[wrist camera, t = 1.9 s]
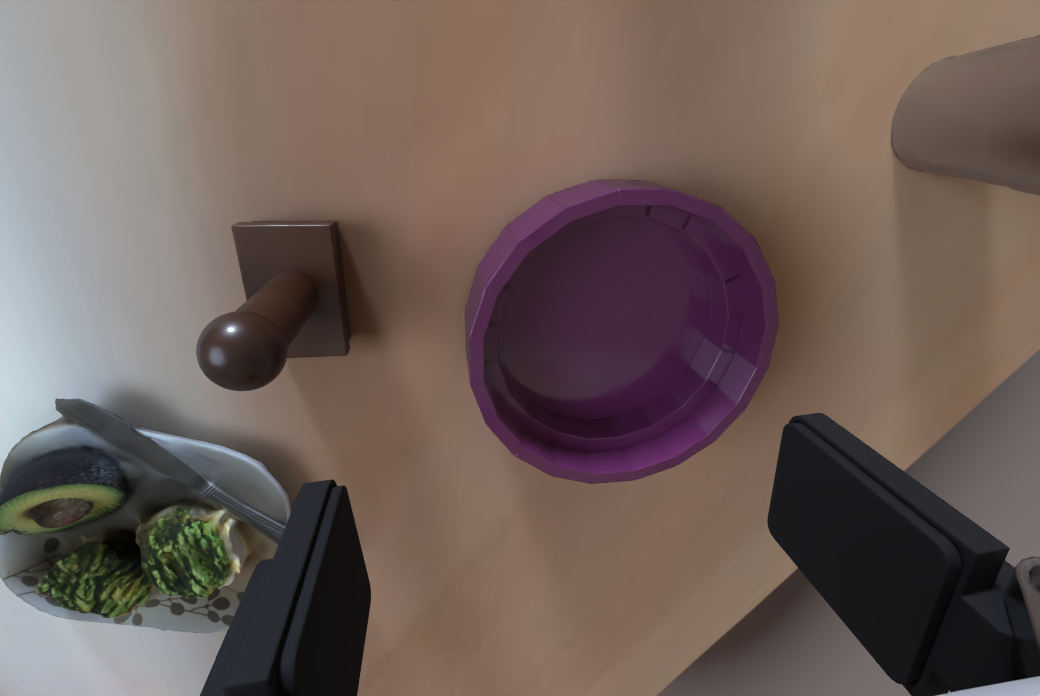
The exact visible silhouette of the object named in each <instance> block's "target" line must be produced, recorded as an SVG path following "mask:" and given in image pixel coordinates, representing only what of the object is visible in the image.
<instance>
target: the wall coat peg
mask: <svg viewBox="0 0 1040 696" xmlns="http://www.w3.org/2000/svg"><path fill="white" fill-rule="evenodd" d="M232 232H233V237H234V242H235V246H236V251H237V256H238V261H239V266H240V270H241V275H242V280H243V285H244V290H245V294H246V299H247V301H246V302H245V303H244V304H243V305H242V306H241V307H239V308H238V309H237V310H236V311H235V312H231V313H227V314H224V315H221V316H219V317H217V318H216V319H214V320H213V321H211V322H210V323H209V324H208V325H207V326H206V327H205V328H204V330H203V331H202V333H201V335H200V337H199V339H198V342H197V348H196V355H197V360H198V363H199V366H200V368H201V370H202V371H203V373H204V374H205V375H206V376H207V377H208V378H209V379H210V380H211V381H212V382H214V383H215V384H217V385H219V386H221V387H223V388H226V389H229V390H234V391H250V390H255V389H258V388H261V387H263V386H265V385H267V384H268V383H270V382H271V381H273V380H274V379H275V378H276V377H277V376H278V375H279V374H280V372H281V371H282V369H283V367H284V365H285V363H286V359H287V358H299V357H322V356H346V355H347V354H348V352H349V350H350V345H349V340H350V337H351V332H350V324H349V316H348V308H347V300H346V292H345V284H344V276H343V268H342V260H341V252H340V244H339V236H338V228H337V222H336V221H252V222H239V223H236V224H234V225H232Z"/></svg>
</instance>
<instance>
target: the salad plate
mask: <svg viewBox="0 0 1040 696" xmlns="http://www.w3.org/2000/svg"><path fill="white" fill-rule="evenodd" d="M55 403H56V410H57V411H58V412H60V413H61V414H62V415H63V416H62V417H61V418H60V419H58V420H57V421H55V422H53V423H50V424H48V425H46V426H44V427H42V428H40V429H38V430H36V431H33V432H31V433H29V434H28V435H27V436H25V437H24V438H22V439H21V441H20V442H19V443H17V444H16V445H15V446H14V447H13V448H12V449H11V451H10V453H9V454H8V457H7V458H6V460H5V462H4V464H3V468H2V472H1V475H0V577H1V579H2V580H3V581H4V583H5V584H6V586H7V587H8V588H9V589H10V590H11V591H12V592H13V593H14V594H16V595H17V596H18V597H19V598H21V599H22V600H24V601H25V602H27V603H29V604H30V605H32V606H34V607H36V608H37V609H38V610H40V611H43V612H46V613H48V614H51V615H53V616H57V617H61V618H66V619H72V620H79V621H89V622H100V623H112V624H122V625H133V626H140V627H141V626H142V627H152V628H156V629H157V628H158V629H161V630H173V631H181V632H193V633H212V632H217V631H221V630H225V629H228V628H229V626H230V624H231V622H232V619H233V617H234V615H235V612H236V610H237V608H238V605H239V603H240V601H241V598H242V596H243V594H244V591H245V589H246V587H247V584H248V582H249V580H250V577H251V575H252V573H253V570H254V569H255V567H256V565H257V564H258V563H259V562H260V561H261V560H266V559H272V558H273V557H274V554H275V552H276V549H277V547H278V544H279V542H280V539H281V537H282V534H283V532H284V529H285V526H286V524H287V521H288V519H289V516H290V514H291V511H292V506H291V502H290V498H289V496H288V494H287V493H286V491H285V490H284V489H283V488H282V486H281V485H280V483H279V482H278V481H277V480H276V479H275V478H274V477H273V476H272V474H271V473H270V472H269V471H268V469H267V468H266V466H265V465H264V464H262V463H261V462H259V461H257V460H255V459H253V458H251V457H249V456H247V455H245V454H242V453H240V452H237V451H234V450H232V449H229V448H226V447H223V446H220V445H216V444H212V443H208V442H204V441H198V440H193V439H189V438H184V437H180V436H176V435H171V434H167V433H162V432H158V431H154V430H150V429H147V428H143V427H140V426H137V425H135V424H132V423H130V422H128V421H126V420H124V419H123V418H121V417H119V416H117V415H115V414H113V413H111V412H109V411H107V410H104V409H102V408H100V407H98V406H96V405H94V404H91V403H89V402H86V401H84V400H81V399H56V400H55Z"/></svg>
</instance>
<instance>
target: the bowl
mask: <svg viewBox="0 0 1040 696" xmlns="http://www.w3.org/2000/svg"><path fill="white" fill-rule="evenodd" d="M778 324H779V323H778V311H777V300H776V288H775V280H774V278H773V276H772V273H771V271H770V269H769V267H768V265H767V263H766V261H765V259H764V256H763V254H762V252H761V250H760V248H759V246H758V244H757V242H756V240H755V238H754V237H753V236H752V235H751V234H750V233H749V232H748V231H746V230H745V229H744V228H743V227H742V226H741V225H740V224H739V223H738V222H737V221H736V220H735V219H733V218H732V217H731V216H730V215H729V214H728V213H727V212H726V211H725V210H724V209H723V208H722V207H719V206H717V205H715V204H712V203H709V202H707V201H704V200H702V199H699V198H696V197H694V196H691V195H688V194H686V193H683V192H680V191H678V190H675V189H671V188H667V187H664V186H660V185H656V184H652V183H648V182H644V181H640V180H593V181H589V182H586V183H583V184H580V185H577V186H574V187H571V188H568V189H565V190H562V191H559V192H556V193H553V194H550V195H548V196H547V197H544V198H543V199H541V200H540V201H539V202H537V203H536V204H535V205H533V206H532V207H531V208H529V209H528V210H527V211H525V212H524V213H523V214H521V215H520V216H519V217H517V218H516V219H515V220H513V221H512V222H511V223H509V224H508V225H507V226H506V227H505V228H504V229H503V231H502V232H501V234H500V235H499V236H498V238H497V239H496V241H495V242H494V243H493V245H492V246H491V248H490V249H489V251H488V252H487V253H486V255H485V256H484V258H483V259H482V260H481V262H480V263H479V265H478V267H477V270H476V274H475V277H474V280H473V283H472V286H471V290H470V293H469V296H468V299H467V302H466V306H465V336H466V355H467V363H468V371H469V379H470V386H471V388H472V391H473V393H474V396H475V398H476V401H477V403H478V406H479V408H480V411H481V413H482V416H483V418H484V421H485V423H486V424H487V426H488V427H489V428H490V429H491V431H492V432H493V433H494V434H495V435H496V436H497V437H498V438H499V439H500V441H501V442H502V443H503V444H504V445H505V446H506V447H507V448H508V449H509V450H510V452H511V453H512V454H513V455H514V456H516V457H517V458H519V459H521V460H523V461H525V462H527V463H528V464H530V465H532V466H534V467H536V468H538V469H539V470H541V471H543V472H545V473H547V474H549V475H551V476H554V477H559V478H564V479H569V480H574V481H579V482H585V483H590V484H592V483H593V484H596V483H608V482H620V481H632V480H637V479H640V478H643V477H646V476H649V475H652V474H655V473H657V472H660V471H663V470H666V469H669V468H672V467H675V466H676V465H679V464H680V463H682V462H683V461H685V460H687V459H688V458H690V457H691V456H693V455H694V454H696V453H697V452H699V451H701V450H702V449H704V448H705V447H707V446H708V445H710V444H711V443H713V442H714V441H716V440H717V438H718V437H719V436H720V435H721V434H722V433H723V432H724V431H725V430H726V429H727V428H728V427H729V426H730V425H731V424H732V423H733V422H734V421H735V420H736V418H737V417H738V416H739V415H740V414H741V413H742V412H743V411H744V410H745V408H746V407H747V406H748V404H749V402H750V400H751V398H752V397H753V395H754V393H755V391H756V389H757V388H758V386H759V384H760V382H761V381H762V379H763V377H764V375H765V373H766V372H767V369H768V367H769V363H770V359H771V354H772V350H773V346H774V342H775V337H776V333H777V329H778Z"/></svg>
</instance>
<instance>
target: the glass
mask: <svg viewBox="0 0 1040 696" xmlns="http://www.w3.org/2000/svg"><path fill="white" fill-rule="evenodd" d="M892 143H893V147H894V150H895V153H896V155H897V156H898V158H899V159H900V161H901V162H902V163H903V164H904V165H906V166H907V167H909V168H911V169H913V170H917V171H927V172H931V173H936V174H941V175H946V176H952V177H957V178H962V179H967V180H973V181H978V182H983V183H988V184H993V185H999V186H1004V187H1008V188H1010V189H1013V190H1016V191H1020V192H1024V193H1029V194H1034V195H1039V196H1040V35H1038V36H1034V37H1030V38H1026V39H1022V40H1018V41H1014V42H1010V43H1006V44H1002V45H997V46H993V47H989V48H985V49H981V50H977V51H973V52H969V53H965V54H962V55H956V56H950V57H946V58H943V59H941V60H938V61H936V62H935V63H933V64H931V65H930V66H928V67H927V68H925V69H924V70H923V71H922V72H921V73H920V74H919V75H918V76H917V77H916V78H915V79H914V80H913V81H912V82H911V83H910V85H909V86H908V87H907V89H906V90H905V92H904V94H903V95H902V97H901V99H900V101H899V103H898V106H897V108H896V111H895V114H894V118H893V123H892Z"/></svg>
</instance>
